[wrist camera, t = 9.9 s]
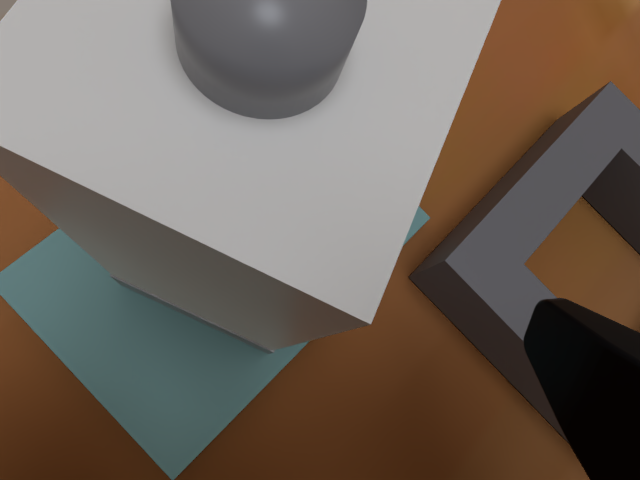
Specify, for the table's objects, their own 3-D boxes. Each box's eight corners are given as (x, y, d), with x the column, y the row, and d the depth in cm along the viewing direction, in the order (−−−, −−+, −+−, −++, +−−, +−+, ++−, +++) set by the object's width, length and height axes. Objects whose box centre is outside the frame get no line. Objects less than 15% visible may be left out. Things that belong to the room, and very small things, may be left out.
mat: (174, 476, 15) (172, 481, 14) (-4, 284, 15) (-12, 281, 15) (423, 222, 19) (430, 217, 18) (277, 72, 19) (279, 62, 18)
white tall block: (267, 353, 16) (407, 323, 4) (119, 284, 15) (-152, 51, 4) (330, 217, 17) (555, -68, 6) (197, 151, 17) (163, -290, 6)
